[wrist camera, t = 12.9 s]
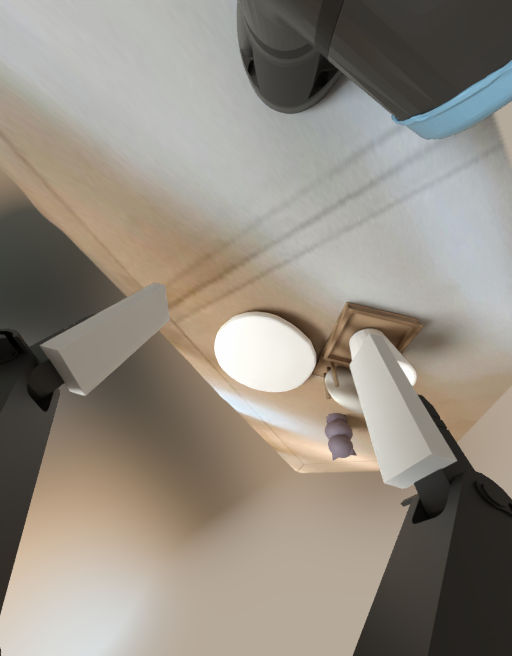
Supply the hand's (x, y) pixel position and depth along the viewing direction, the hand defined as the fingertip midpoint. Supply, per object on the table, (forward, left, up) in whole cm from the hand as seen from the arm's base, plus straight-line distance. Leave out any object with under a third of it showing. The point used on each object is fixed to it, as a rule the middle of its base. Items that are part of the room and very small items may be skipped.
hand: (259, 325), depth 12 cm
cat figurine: (+51, +31, -32) cm, 68 cm away
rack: (+21, +24, -32) cm, 45 cm away
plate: (+29, +1, -32) cm, 43 cm away
